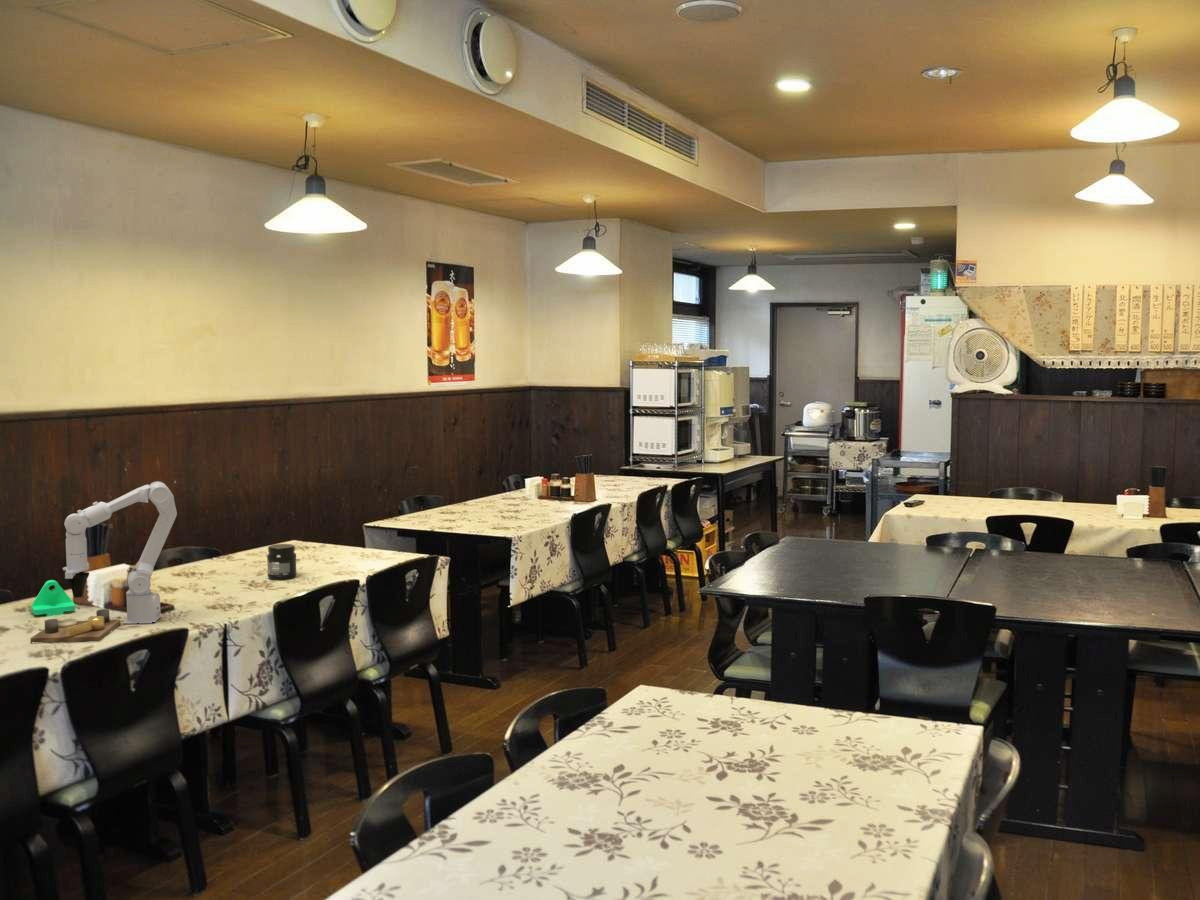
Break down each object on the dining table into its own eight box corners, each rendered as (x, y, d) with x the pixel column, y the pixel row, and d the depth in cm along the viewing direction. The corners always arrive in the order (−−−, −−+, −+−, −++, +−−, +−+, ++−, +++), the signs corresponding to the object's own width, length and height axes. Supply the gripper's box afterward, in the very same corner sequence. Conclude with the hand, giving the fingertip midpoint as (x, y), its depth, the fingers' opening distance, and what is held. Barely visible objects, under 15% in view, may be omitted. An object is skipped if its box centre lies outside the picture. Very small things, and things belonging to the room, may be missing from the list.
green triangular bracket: (34, 618, 343) (32, 586, 342) (31, 613, 349) (30, 582, 348) (76, 613, 350) (74, 582, 349) (72, 608, 356) (71, 577, 355)
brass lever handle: (97, 625, 327) (96, 615, 326) (107, 627, 325) (107, 617, 325) (62, 635, 316) (62, 624, 315) (73, 637, 314) (72, 626, 314)
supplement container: (293, 573, 411) (293, 542, 410) (299, 579, 402) (298, 547, 400) (265, 576, 406) (264, 544, 405) (270, 581, 397) (269, 549, 396)
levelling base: (120, 624, 335) (119, 608, 335) (99, 641, 316) (98, 624, 316) (56, 626, 333) (55, 610, 333) (30, 643, 314) (29, 626, 313)
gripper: (71, 548, 337) (73, 591, 338) (53, 558, 322) (55, 602, 324) (95, 548, 337) (97, 591, 339) (78, 557, 323) (80, 602, 324)
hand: (78, 597), depth 331 cm, fingers closed
